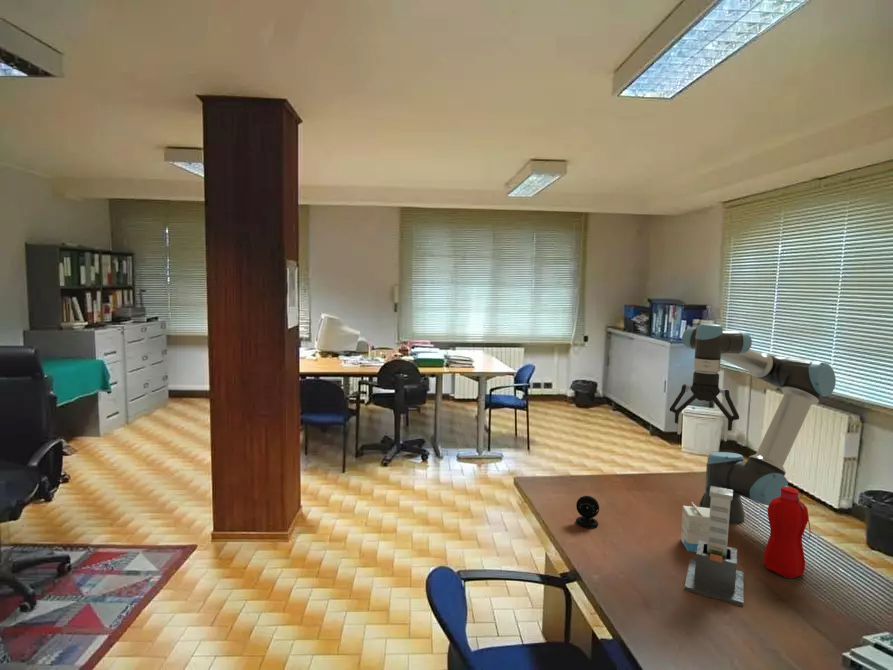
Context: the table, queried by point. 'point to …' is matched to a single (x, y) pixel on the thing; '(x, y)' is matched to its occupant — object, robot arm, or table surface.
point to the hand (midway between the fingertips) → (701, 436)
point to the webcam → (587, 511)
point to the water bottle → (786, 534)
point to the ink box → (694, 526)
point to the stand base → (715, 575)
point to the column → (719, 520)
